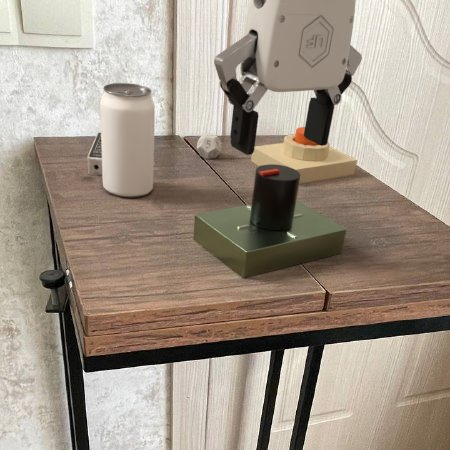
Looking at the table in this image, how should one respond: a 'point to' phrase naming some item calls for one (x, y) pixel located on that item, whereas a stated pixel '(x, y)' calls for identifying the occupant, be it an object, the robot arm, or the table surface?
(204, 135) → the game die
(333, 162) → the button box
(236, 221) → the panel
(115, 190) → the can
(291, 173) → the knob
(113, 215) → the table surface
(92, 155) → the multiport hub
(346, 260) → the table surface
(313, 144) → the button
